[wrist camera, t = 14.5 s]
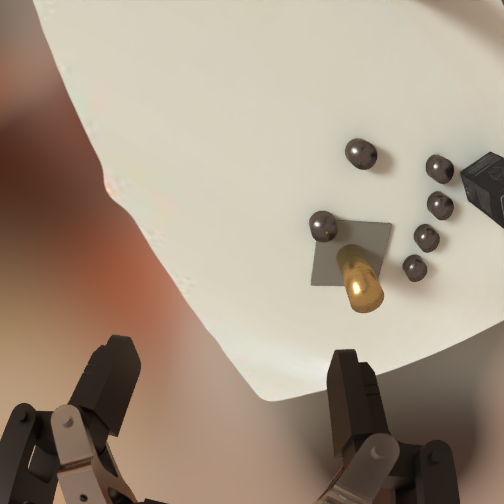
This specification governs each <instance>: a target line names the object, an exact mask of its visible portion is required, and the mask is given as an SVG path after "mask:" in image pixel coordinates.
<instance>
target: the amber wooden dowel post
mask: <svg viewBox="0 0 504 504" xmlns="http://www.w3.org/2000/svg"><path fill="white" fill-rule="evenodd" d="M336 261H337V264H338V267H339V270H340V273H341V276H342V279H343V282H344V285H345V288H346V292H347V295H348V298H349V301H350V304H351V307H352V309H353V310H354V311H356V312H358V313H368V312H371V311H374V310H375V309H377V308H378V307H379V306H380V305H381V304H382V302H383V300H384V292H383V290H382V288H381V286H380V284H379V282H378V279H377V277H376V275H375V273H374V271H373V269H372V267H371V265H370V263H369V261H368V259H367V257H366V255H365V253H364V251H363V249H362V248H361V247H360V246H358V245H356V244H348V245H345V246H343V247H342V248H341V249H340V250H339V251H338V253H337V255H336Z"/></svg>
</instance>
